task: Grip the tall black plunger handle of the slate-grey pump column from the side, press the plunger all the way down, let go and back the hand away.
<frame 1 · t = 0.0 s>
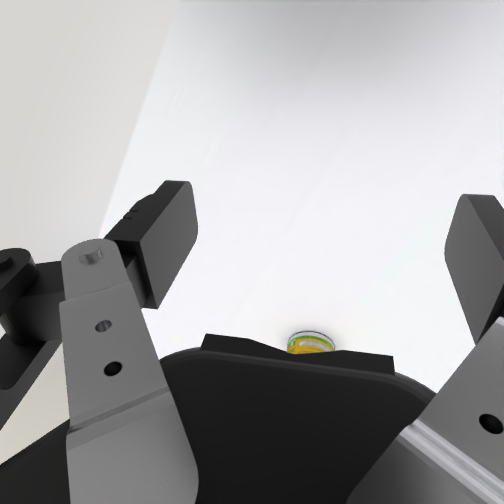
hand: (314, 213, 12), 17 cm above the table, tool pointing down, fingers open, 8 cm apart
supplement bottle: (311, 343, 44), on the table
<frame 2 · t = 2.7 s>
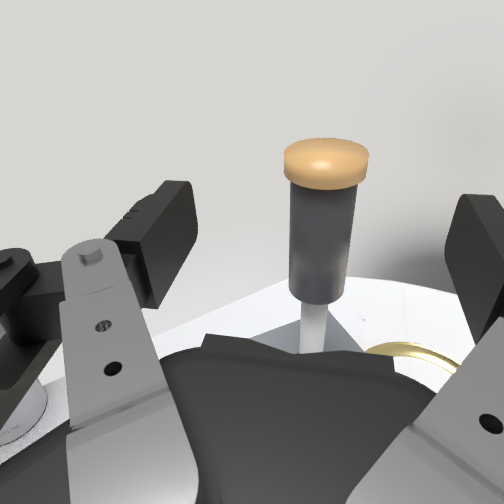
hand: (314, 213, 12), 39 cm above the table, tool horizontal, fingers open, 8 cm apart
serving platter: (474, 462, 43), on the table
plunger: (313, 318, 30), point 24 cm above the table, slide at 0.0 cm
pump column: (302, 463, 43), on the table
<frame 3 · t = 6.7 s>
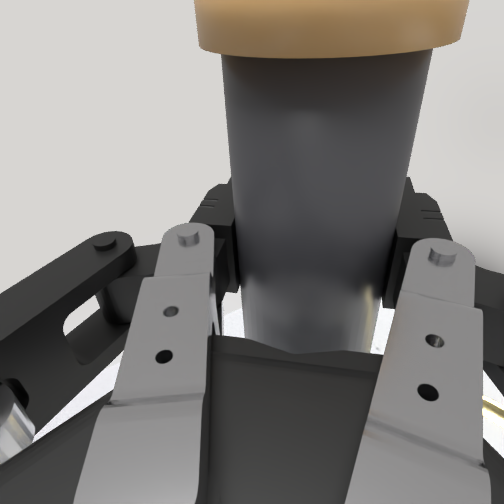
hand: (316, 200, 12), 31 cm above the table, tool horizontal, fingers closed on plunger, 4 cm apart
plunger: (302, 405, 14), point 24 cm above the table, slide at 0.0 cm, touching gripper
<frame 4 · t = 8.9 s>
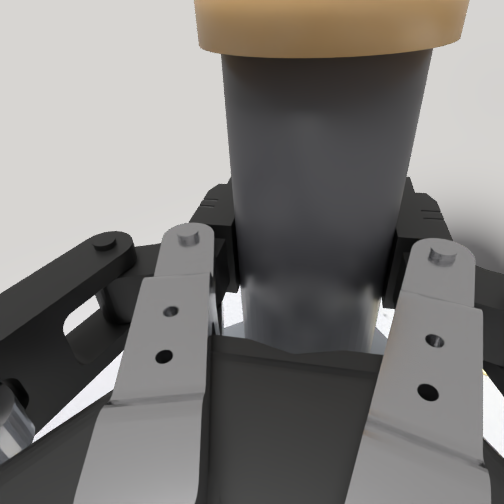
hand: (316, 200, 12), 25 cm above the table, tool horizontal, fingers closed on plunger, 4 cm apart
plunger: (302, 405, 14), point 18 cm above the table, slide at 5.7 cm, touching gripper
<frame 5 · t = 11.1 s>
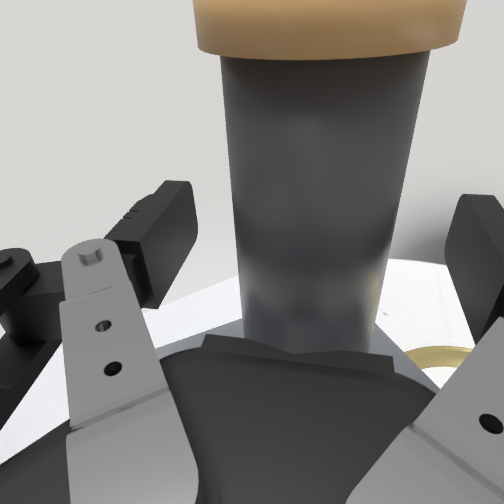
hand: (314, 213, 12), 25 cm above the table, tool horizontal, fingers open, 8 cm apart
plunger: (301, 405, 15), point 18 cm above the table, slide at 5.9 cm
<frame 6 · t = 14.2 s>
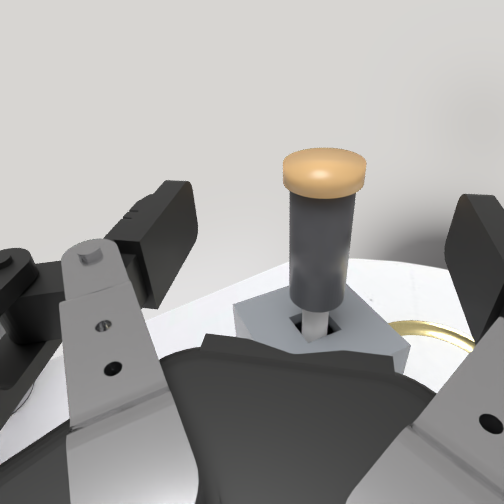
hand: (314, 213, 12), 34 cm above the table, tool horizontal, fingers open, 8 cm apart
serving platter: (494, 443, 40), on the table
plunger: (314, 326, 30), point 18 cm above the table, slide at 5.9 cm
pump column: (307, 444, 40), on the table
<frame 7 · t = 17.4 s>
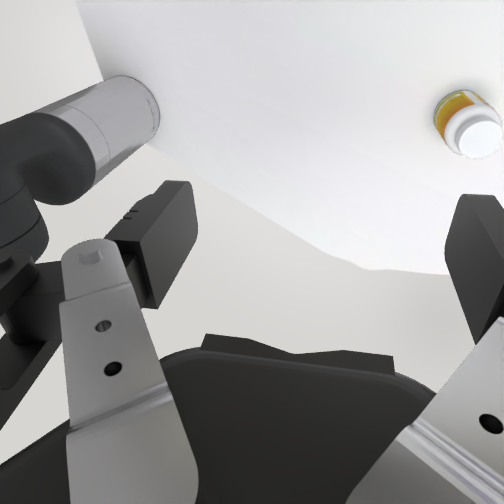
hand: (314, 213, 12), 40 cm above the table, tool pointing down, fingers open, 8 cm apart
supplement bottle: (456, 112, 46), on the table
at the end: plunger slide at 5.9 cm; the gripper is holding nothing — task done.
